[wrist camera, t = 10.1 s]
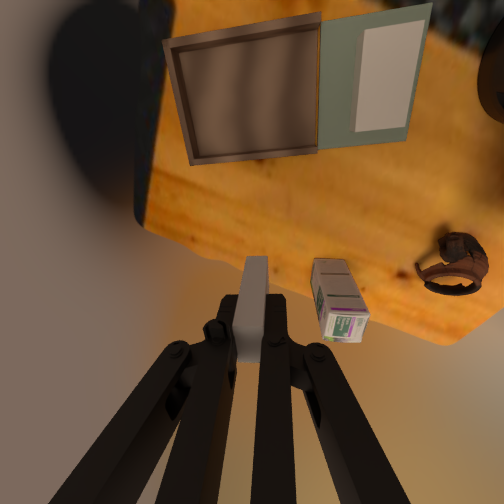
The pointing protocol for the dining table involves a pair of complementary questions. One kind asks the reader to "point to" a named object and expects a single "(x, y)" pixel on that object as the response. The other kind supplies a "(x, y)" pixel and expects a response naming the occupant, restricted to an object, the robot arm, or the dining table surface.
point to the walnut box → (247, 90)
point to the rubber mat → (342, 74)
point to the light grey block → (384, 76)
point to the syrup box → (338, 301)
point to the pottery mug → (457, 265)
